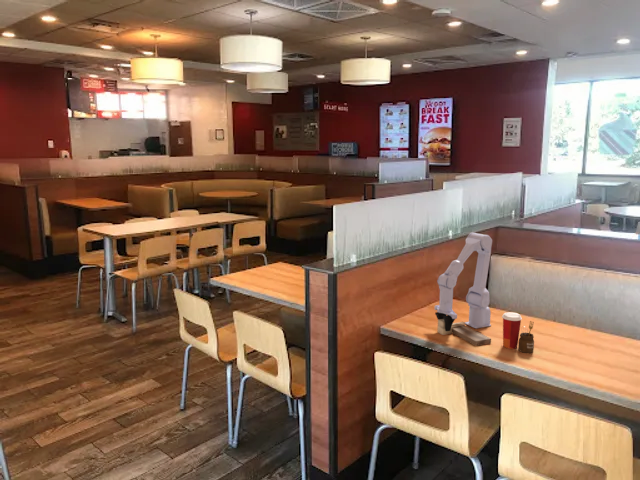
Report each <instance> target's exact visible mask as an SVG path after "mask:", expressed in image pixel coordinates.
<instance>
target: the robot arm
mask: <svg viewBox="0 0 640 480" xmlns="http://www.w3.org/2000/svg"><path fill="white" fill-rule="evenodd" d="M492 245H493V239H492V238H491V236H490V235H489V234H482V233H476V232H474V231H473V232H470V233H469V234H468V235H467V237H466V238H465V245H464V246H463V248H462V249H461V252H460V253H459V255H458V257H457V259H455V260H454V259H453V260H451V262H450V264H449V266H448V267H447V269H446V270H445V271H444V273H442V274H440V275H439V276H438V278H437V281H436V282H437V285H438V288H439V304H438V305H434V311H436V312H435V314H434V315H435V316H436V319H437V320H438V319H444V322H445V331H450V330H451V326H452V324H453V323H455V322H454V321H456V319H458V314H457V313H456V312H455V311H454V310H453V298H454V288H455V286H456V285H457V281H458V277H459V276H460V274H461V273H462V271H463V270H464V268H465V267H464V264H465V262H466V261H467V260H468V258H469V257H470V256H471V255H472V254H473V252H477V253H478V254H477V260H476V266H475V272H474V278H473V286H471V287H469V288H468V292H467V294H466V296H465V300H466V303H467V304H468V306H469V310H468V321H465V325H466V326H467V325H468V327H470V328H471V327H472V329H473V328H474V329H480V328H485V327H486V328H487V327H491V326H492V324H491V317H492V316H491V313H492V312H491V309H490V307H489V306H490V302H491V301H490V299H491V298H490V292H489V290H488V289H487V288H486V286H487V280H488V274H489V267H490V262H491V261H490V260H491V254H492Z"/></svg>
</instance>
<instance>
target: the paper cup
mask: <svg viewBox="0 0 640 480" xmlns="http://www.w3.org/2000/svg"><path fill="white" fill-rule="evenodd" d="M501 318H502V346H503V348H506V349H510V350H515V349H517V348H518V344H519V338H520V329H521V323H522V319H523V318H522V316H521V314H519V313H517V312H512V311H511V312H509V311H507V312H504V313H503V314H502V316H501Z"/></svg>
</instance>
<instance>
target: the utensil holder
mask: <svg viewBox="0 0 640 480" xmlns="http://www.w3.org/2000/svg"><path fill="white" fill-rule="evenodd" d="M524 328H526V325H524V326H522V329H524ZM528 329H529V332H528ZM533 329H534V321H532V320H530V321H529V326H528V328H526V332H521V333H519V338H518V345H517V348H518V351H520V352H521V353H524V354H531V353H533V352H534V349H535V340H534V337H535V336H534V334H533V333H531V330H533Z"/></svg>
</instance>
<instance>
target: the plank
mask: <svg viewBox="0 0 640 480" xmlns="http://www.w3.org/2000/svg"><path fill="white" fill-rule="evenodd" d="M452 334H454V335H455V336H457V337H459V338H461V339H462V338H463V339H462V340H464V341H465V342H468V343H470V344H472V345H474V346H482V345H487V344H491V343H492V338H491V337H489V336H486V335H484V333H481V332H479V331H477V330H475V329H473V328H471V327H470V326H467V325H466V324H465V325H462V326H454V327H452Z"/></svg>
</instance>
